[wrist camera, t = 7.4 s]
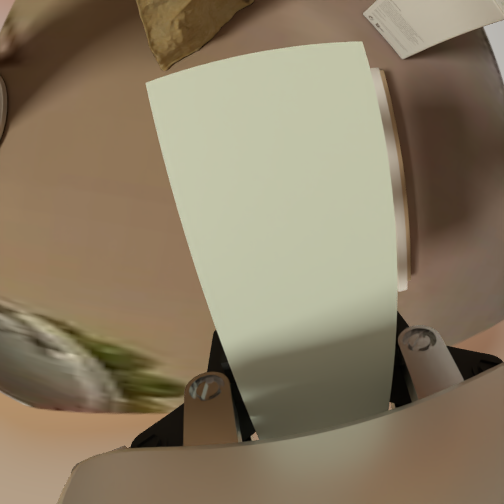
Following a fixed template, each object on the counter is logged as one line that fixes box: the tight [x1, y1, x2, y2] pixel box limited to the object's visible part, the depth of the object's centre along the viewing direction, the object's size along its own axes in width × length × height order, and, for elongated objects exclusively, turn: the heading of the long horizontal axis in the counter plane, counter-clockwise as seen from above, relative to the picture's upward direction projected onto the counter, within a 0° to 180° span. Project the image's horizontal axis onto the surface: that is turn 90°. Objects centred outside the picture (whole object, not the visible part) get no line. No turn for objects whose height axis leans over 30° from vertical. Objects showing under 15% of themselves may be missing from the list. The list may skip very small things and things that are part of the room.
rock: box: [136, 0, 254, 71], centre depth 18 cm, size 11×9×10 cm
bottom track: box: [370, 68, 411, 292], centre depth 26 cm, size 22×10×2 cm, turn 14°
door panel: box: [146, 42, 397, 440], centre depth 10 cm, size 16×4×7 cm, turn 13°
